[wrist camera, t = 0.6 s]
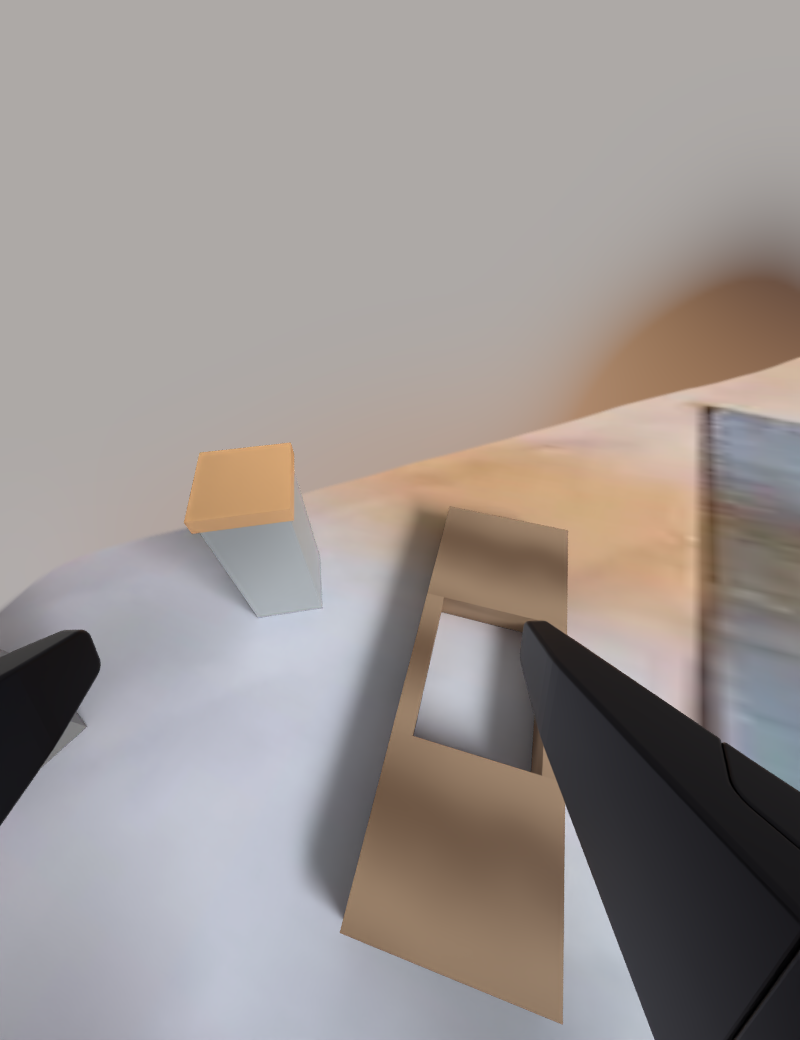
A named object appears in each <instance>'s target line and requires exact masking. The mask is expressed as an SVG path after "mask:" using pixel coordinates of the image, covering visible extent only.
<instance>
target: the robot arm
mask: <svg viewBox="0 0 800 1040" xmlns="http://www.w3.org/2000/svg"><path fill="white" fill-rule="evenodd" d="M520 660H521V666H522V669H523V673H524V677H525V681H526V685H527V689H528V692H529V696H530V700H531V704H532V708H533V712H534V715H535V719H536V723H537V727H538V730H539V734H540V737H541V740H542V743H543V746H544V749H545V751H546V754H547V757H548V759H549V762H550V765H551V767H552V770H553V773H554V775H555V778H556V781H557V783H558V786H559V788H560V791H561V794H562V796H563V799H564V802H565V804H566V807H567V810H568V812H569V815H570V818H571V820H572V823H573V825H574V828H575V831H576V833H577V836H578V839H579V841H580V844H581V847H582V849H583V852H584V854H585V857H586V860H587V862H588V865H589V868H590V870H591V873H592V876H593V878H594V881H595V884H596V886H597V889H598V891H599V894H600V897H601V899H602V902H603V905H604V907H605V910H606V913H607V915H608V918H609V921H610V923H611V926H612V928H613V931H614V934H615V936H616V939H617V942H618V944H619V947H620V950H621V952H622V955H623V957H624V960H625V963H626V965H627V968H628V971H629V973H630V976H631V979H632V981H633V984H634V987H635V989H636V992H637V994H638V997H639V1000H640V1002H641V1005H642V1008H643V1010H644V1013H645V1016H646V1018H647V1021H648V1024H649V1026H650V1029H651V1031H652V1034H653V1037H654V1039H655V1040H800V792H799V791H798V790H796V789H795V788H793V787H792V786H790V785H789V784H787V783H786V782H784V781H783V780H781V779H780V778H778V777H777V776H775V775H774V774H772V773H771V772H769V771H768V770H766V769H764V768H763V767H761V766H760V765H758V764H757V763H755V762H754V761H752V760H751V759H749V758H748V757H746V756H745V755H743V754H742V753H741V752H739V751H738V750H736V749H735V748H733V747H732V746H730V745H729V744H727V743H725V742H724V743H721V740H720V739H719V738H718V737H717V736H715V735H714V734H712V733H711V732H709V731H708V730H706V729H705V728H703V727H702V726H701V725H699V724H698V723H696V722H695V721H693V720H692V719H690V718H689V717H687V716H686V715H684V714H683V713H681V712H680V711H678V710H677V709H675V708H674V707H673V706H671V705H670V704H668V703H667V702H665V701H664V700H662V699H661V698H659V697H658V696H656V695H655V694H653V693H652V692H650V691H649V690H647V689H646V688H645V687H643V686H642V685H640V684H639V683H637V682H636V681H634V680H633V679H631V678H630V677H628V676H627V675H625V674H624V673H622V672H621V671H619V670H618V669H617V668H615V667H614V666H612V665H611V664H609V663H608V662H606V661H605V660H603V659H602V658H600V657H599V656H597V655H596V654H594V653H593V652H591V651H590V650H589V649H587V648H586V647H584V646H583V645H581V644H580V643H578V642H577V641H575V640H574V639H572V638H571V637H569V636H568V635H566V634H565V633H563V632H562V631H561V630H559V629H558V628H556V627H555V626H553V625H552V624H550V623H549V622H547V621H544V620H534V621H527V622H525V624H524V627H523V634H522V642H521V650H520ZM100 666H101V662H100V658H99V656H98V653H97V651H96V648H95V646H94V643H93V641H92V638H91V636H90V634H89V633H88V632H87V631H85V630H64V631H60V632H58V633H55V634H53V635H50V636H48V637H46V638H43V639H41V640H39V641H36V642H34V643H32V644H29V645H27V646H25V647H22V648H20V649H18V650H15V651H13V652H11V653H8V654H6V655H4V656H1V657H0V826H1V824H2V823H3V821H4V820H5V819H6V817H7V816H8V814H9V813H10V811H11V810H12V809H13V807H14V806H15V804H16V803H17V801H18V800H19V799H20V797H21V796H22V794H23V793H24V791H25V790H26V789H27V787H28V786H29V784H30V783H31V781H32V780H33V779H34V777H35V776H36V774H37V773H38V771H39V770H40V769H41V767H42V766H43V764H44V763H45V761H46V760H47V758H48V757H49V755H50V754H51V752H52V751H53V749H54V748H55V746H56V745H57V743H58V742H59V740H60V738H61V737H62V735H63V733H64V732H65V730H66V728H67V727H68V725H69V723H70V721H71V720H72V718H73V716H74V715H75V713H76V711H77V709H78V708H79V706H80V704H81V703H82V701H83V699H84V697H85V696H86V694H87V692H88V691H89V689H90V687H91V685H92V684H93V682H94V680H95V679H96V677H97V675H98V673H99V671H100Z"/></svg>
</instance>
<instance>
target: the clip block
mask: <svg viewBox="0 0 800 1040" xmlns="http://www.w3.org/2000/svg"><path fill="white" fill-rule="evenodd" d="M184 523H185V525H186V526H187V528H188V529H189V530H190V532H191V533H192V534H195V533H200V534H201V536H202V537H203V538H204V540H205V541H206V543H207V544H208V546H209V547H210V549H211V550H212V552H213V553H214V554H215V556H216V557H217V559H218V560H219V562H220V563H221V565H222V566H223V568H224V569H225V570H226V572H227V573H228V575H229V576H230V578H231V579H232V581H233V582H234V583H235V585H236V586H237V588H238V589H239V591H240V592H241V594H242V595H243V597H244V598H245V599H246V601H247V602H248V604H249V605H250V607H251V608H252V610H253V611H254V612H255V614H256V615H257V617H258V618H261V617H267V616H273V615H280V614H286V613H293V612H299V611H306V610H312V609H319V608H322V588H321V567H320V554H319V551H318V548H317V544H316V541H315V538H314V534H313V531H312V528H311V524H310V521H309V518H308V515H307V511H306V508H305V505H304V501H303V498H302V495H301V491H300V488H299V485H298V482H297V478H296V475H295V472H294V452H293V449H292V445H291V443H283V444H274V445H265V446H256V447H247V448H238V449H229V450H221V451H212V452H202V453H200V454H199V458H198V462H197V467H196V472H195V476H194V480H193V484H192V489H191V493H190V498H189V502H188V507H187V511H186V516H185V520H184Z"/></svg>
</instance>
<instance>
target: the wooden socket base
mask: <svg viewBox="0 0 800 1040" xmlns="http://www.w3.org/2000/svg"><path fill="white" fill-rule="evenodd" d="M567 577H568V530H564V529H559V528H554V527H549V526H544V525H539V524H534V523H529V522H524V521H519V520H514V519H509V518H505V517H500V516H495V515H490V514H485V513H480V512H475V511H470V510H465V509H460V508H455V507H449V511H448V515H447V519H446V523H445V527H444V531H443V535H442V538H441V542H440V546H439V550H438V554H437V558H436V562H435V566H434V569H433V573H432V577H431V581H430V585H429V589H428V593H427V597H426V600H425V604H424V608H423V612H422V616H421V620H420V624H419V628H418V631H417V635H416V639H415V643H414V647H413V651H412V655H411V659H410V662H409V666H408V670H407V674H406V678H405V682H404V686H403V690H402V693H401V697H400V701H399V705H398V709H397V713H396V717H395V721H394V724H393V728H392V732H391V736H390V740H389V744H388V748H387V752H386V755H385V759H384V763H383V767H382V771H381V775H380V779H379V783H378V786H377V790H376V794H375V798H374V802H373V806H372V810H371V814H370V817H369V821H368V825H367V829H366V833H365V837H364V841H363V845H362V848H361V852H360V856H359V860H358V864H357V868H356V872H355V876H354V879H353V883H352V887H351V891H350V895H349V899H348V903H347V907H346V910H345V914H344V918H343V922H342V926H341V930H340V933H341V934H344V935H346V936H349V937H351V938H354V939H356V940H358V941H361V942H363V943H366V944H368V945H371V946H373V947H375V948H378V949H380V950H383V951H385V952H388V953H390V954H392V955H395V956H397V957H400V958H402V959H405V960H407V961H409V962H412V963H414V964H417V965H419V966H422V967H424V968H426V969H429V970H431V971H434V972H436V973H439V974H441V975H443V976H446V977H448V978H451V979H453V980H456V981H458V982H460V983H463V984H465V985H468V986H470V987H473V988H475V989H477V990H480V991H482V992H485V993H487V994H490V995H492V996H494V997H497V998H499V999H502V1000H504V1001H507V1002H509V1003H511V1004H514V1005H516V1006H519V1007H521V1008H524V1009H526V1010H528V1011H531V1012H533V1013H536V1014H538V1015H541V1016H543V1017H545V1018H548V1019H550V1020H553V1021H555V1022H558V1023H560V1024H562V1025H563V943H564V851H565V802H564V799H563V796H562V794H561V791H560V788H559V786H558V783H557V781H556V778H555V775H554V773H553V770H552V767H551V765H550V762H549V759H548V757H547V754H546V751H545V749H544V746H543V743H542V740H541V737H540V734H539V730H538V727H537V723H536V719H535V715H534V729H533V746H532V764H531V772H528V771H525V770H522V769H519V768H515V767H512V766H509V765H506V764H502V763H499V762H496V761H493V760H489V759H486V758H483V757H480V756H477V755H473V754H470V753H467V752H464V751H460V750H457V749H454V748H451V747H447V746H444V745H441V744H438V743H435V742H431V741H428V740H425V739H422V738H418V737H415V736H413V735H414V730H415V726H416V721H417V717H418V713H419V708H420V704H421V699H422V695H423V690H424V686H425V682H426V677H427V673H428V668H429V664H430V659H431V655H432V651H433V646H434V642H435V637H436V633H437V629H438V624H439V620H440V615H441V612H444V613H448V614H452V615H456V616H460V617H464V618H468V619H472V620H476V621H480V622H484V623H488V624H492V625H496V626H499V627H503V628H507V629H511V630H515V631H519V632H523V627H524V624H525V622H527V621H534V620H544V621H547V622H549V623H550V624H552V625H553V626H555V627H556V628H558V629H559V630H561V631H562V632H563V633H565V634H566V635H567Z"/></svg>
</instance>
